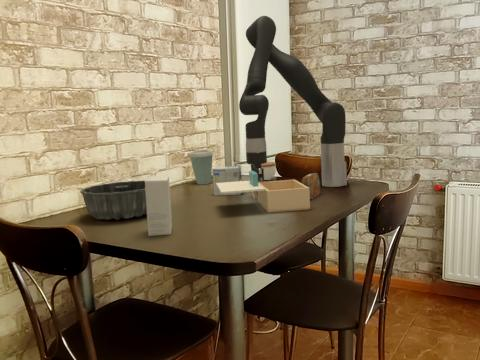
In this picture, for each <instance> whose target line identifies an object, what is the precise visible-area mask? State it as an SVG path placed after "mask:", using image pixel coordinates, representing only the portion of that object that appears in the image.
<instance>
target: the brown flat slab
mask: <svg viewBox="0 0 480 360" xmlns="http://www.w3.org/2000/svg"><path fill="white" fill-rule="evenodd" d="M301 183H302V184H303V185H305V186H307V187H309V192H310V200H314V199H315V198H316V197H318V196H319V195H320V194H321V193H320V192H321V179H320V175H319V173H318V172H314V173H312V172H311V173H309V174H307V175H305V176H303V177H302V179H301Z"/></svg>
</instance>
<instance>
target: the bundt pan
mask: <svg viewBox="0 0 480 360" xmlns="http://www.w3.org/2000/svg"><path fill="white" fill-rule="evenodd" d="M79 193H80V194H82V197H83V201H84V205H85V208H86V211H87V213H89V215H90V216H92V217H93V218H94V219H96V220H102V219H103V220H106V221H109V220H116V221H120V219H128V220H129V219H132V218H136V219H137V218H140V217H141V216H147V207H146V192H145V180H129V181H116V182H110V183H102V184H97V185H91V186H88V187H84V188H82V189H81V190H80V192H79Z"/></svg>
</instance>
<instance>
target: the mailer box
mask: <svg viewBox="0 0 480 360" xmlns="http://www.w3.org/2000/svg"><path fill="white" fill-rule="evenodd" d="M258 184H260V185H261V186H262V187H263V188H264V189H265V191H257V193H258V199H257V202H258V204H259V205H260V206H261V207H262V208H263V209H264V210H265V211H266V212H267V214H275V213H283V212H285V213H286V212H295V211H297V212H298V211H307V210H311V199H310V192H309V187H307V186H305V185H303V184H302V182H300V181H298V180H296V179H284V180H274V181H273V180H270V181H264V182H258Z"/></svg>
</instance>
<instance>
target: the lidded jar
mask: <svg viewBox="0 0 480 360" xmlns="http://www.w3.org/2000/svg"><path fill="white" fill-rule="evenodd" d="M276 166H277V163H276V162H275V161H267V162H266V163H264V164H261V167H262V168H263V169H264V180H270V181H272V180H271V179H273V178H274V177H275V175H276V171H277V169H276V168H277V167H276Z"/></svg>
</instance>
